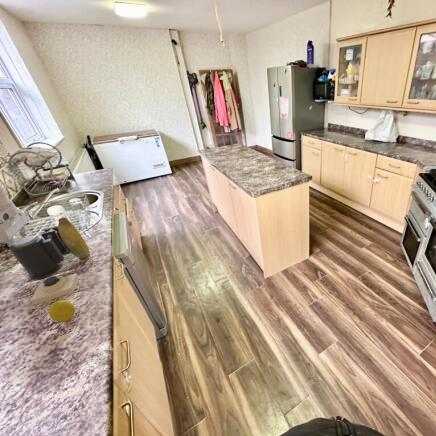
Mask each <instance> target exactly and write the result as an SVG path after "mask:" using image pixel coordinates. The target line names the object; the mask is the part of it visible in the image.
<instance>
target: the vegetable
mask: <svg viewBox="0 0 436 436" xmlns="http://www.w3.org/2000/svg"><path fill="white" fill-rule="evenodd" d="M57 227H58V231H59V234H60V236H61V238H62V240H63V243H64V244H65V246H66V247H67V248H68V249H69V250H70V252H71V254H72V255H73V256H75V257H76V258H79V259H80V258H81V259H84V258H87V257H89V255H90V248H89V245H88V243H87V242H86V241H85V239H84V237H83V236H82V234H81V233H80V232H79V230H78V229H77V227H76V226H75V225H74V224H73V222H71V221H70V220H69V219H68V218H67V217H63V216H62V217H60V218H59V219H58V224H57Z"/></svg>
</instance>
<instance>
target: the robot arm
mask: <svg viewBox="0 0 436 436" xmlns="http://www.w3.org/2000/svg"><path fill="white" fill-rule="evenodd" d="M28 222H29V220H28V217H27V216H26V215H25V213H24V211H22V210H21V209H20V207H16V205H15V203H14V202H13V201H12V199H10V198H9V197H8V195H7V191H6V189H5V188H4V186H3V185H2V184H1V183H0V244H3V243H6V244H7V245H9V247H10V246H11V245H13V243H14V242H15V241H16V240H14V237H15V236H16V235H17V234H18V233H19V235H20V237H21V238H24V237H28V235H29V233H28V232H27V227H26V224H27V223H28Z"/></svg>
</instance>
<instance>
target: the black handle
mask: <svg viewBox="0 0 436 436" xmlns="http://www.w3.org/2000/svg"><path fill="white" fill-rule="evenodd" d="M50 229H53V231H49V230H50ZM43 231H44V232H41V233H40V236H41V237H42V239H44V240H47V239H52V240H53V242H54V243H55V245H56V246H57V248H58V249H59V251H60V252H61V254H62V255H63V256H64V255H66V254H70V253H71V252H70V250H69V249H68V248H67V247H66V246H65V244H64V243H63V240H62V238H61V236H60V234H59V231H58V225H57V226H51V227H48V228H44V229H43ZM48 231H49V232H48ZM55 231H57V233H56V232H55ZM71 254H72V253H71Z"/></svg>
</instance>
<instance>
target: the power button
mask: <svg viewBox="0 0 436 436" xmlns="http://www.w3.org/2000/svg"><path fill="white" fill-rule="evenodd" d="M56 276H57V275H53V276H51V277H48V278H46V279H43V282H42V283H44V284H45V285H46V286H47V287H49V286H52V285H54V284H56V283H57V282H58V281H59V279H58V278H57V277H56Z"/></svg>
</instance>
